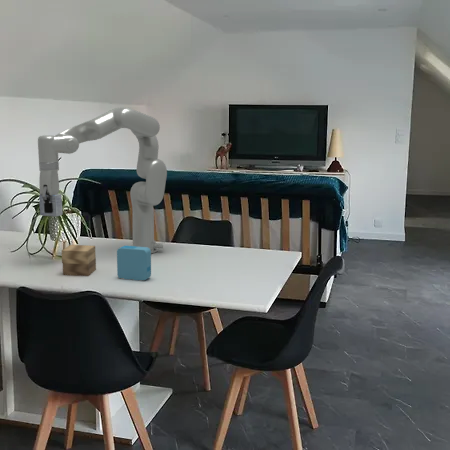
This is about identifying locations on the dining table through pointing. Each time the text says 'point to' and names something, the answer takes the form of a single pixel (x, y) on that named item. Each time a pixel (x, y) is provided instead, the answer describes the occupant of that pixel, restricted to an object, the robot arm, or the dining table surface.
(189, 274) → the dining table surface
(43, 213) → the medicine box
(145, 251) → the data package
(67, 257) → the upper block
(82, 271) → the lower block
